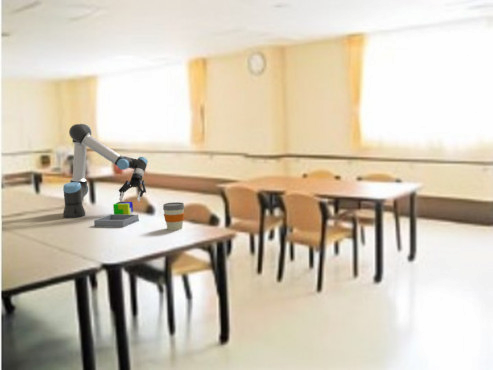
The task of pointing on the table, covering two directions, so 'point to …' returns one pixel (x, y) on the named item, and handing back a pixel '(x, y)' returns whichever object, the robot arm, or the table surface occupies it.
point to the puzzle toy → (123, 208)
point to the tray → (116, 220)
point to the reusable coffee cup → (174, 215)
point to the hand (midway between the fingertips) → (129, 200)
